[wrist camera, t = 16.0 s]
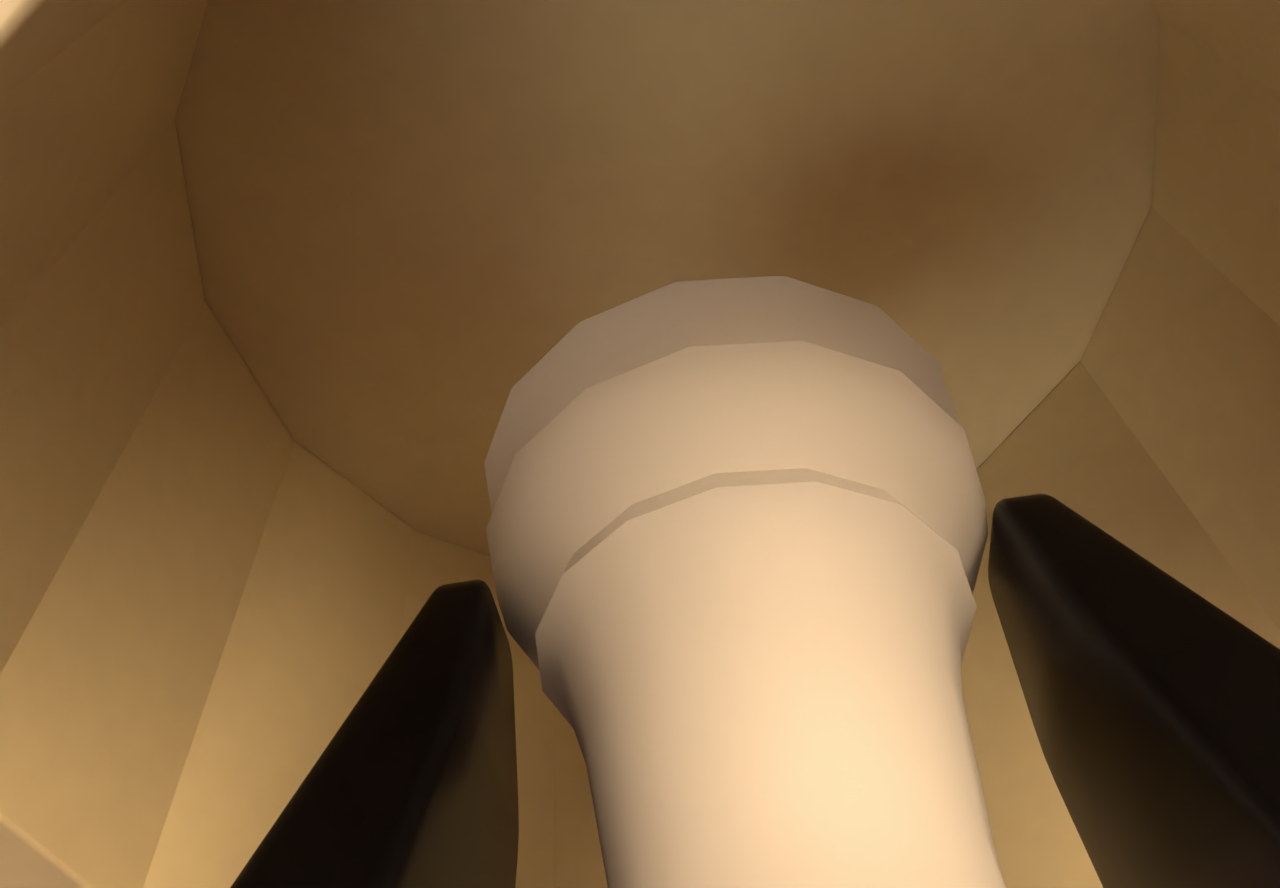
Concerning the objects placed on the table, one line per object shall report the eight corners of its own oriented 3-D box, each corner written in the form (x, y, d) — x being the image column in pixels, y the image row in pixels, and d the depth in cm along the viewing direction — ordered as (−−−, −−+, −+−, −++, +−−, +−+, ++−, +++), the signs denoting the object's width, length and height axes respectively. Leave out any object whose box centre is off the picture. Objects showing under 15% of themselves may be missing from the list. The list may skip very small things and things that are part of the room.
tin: (1172, 480, 17) (1507, 930, 11) (407, 664, 18) (334, 1142, 12) (1257, -701, 8) (2888, -1529, 3) (-152, -172, 10) (-1161, 73, 4)
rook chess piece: (864, 624, 12) (1230, 1790, 5) (471, 595, 11) (339, 1898, 5) (1019, 280, 9) (2152, 1817, 3) (509, 212, 8) (325, 2089, 2)
